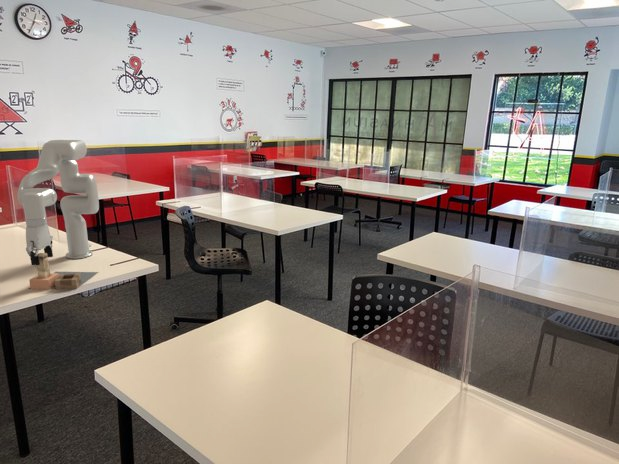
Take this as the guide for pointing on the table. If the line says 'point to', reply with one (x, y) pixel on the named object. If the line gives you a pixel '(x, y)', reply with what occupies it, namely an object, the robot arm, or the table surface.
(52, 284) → the salmon pink square box
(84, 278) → the charcoal mat
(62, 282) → the brown square ring
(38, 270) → the beige wooden post
